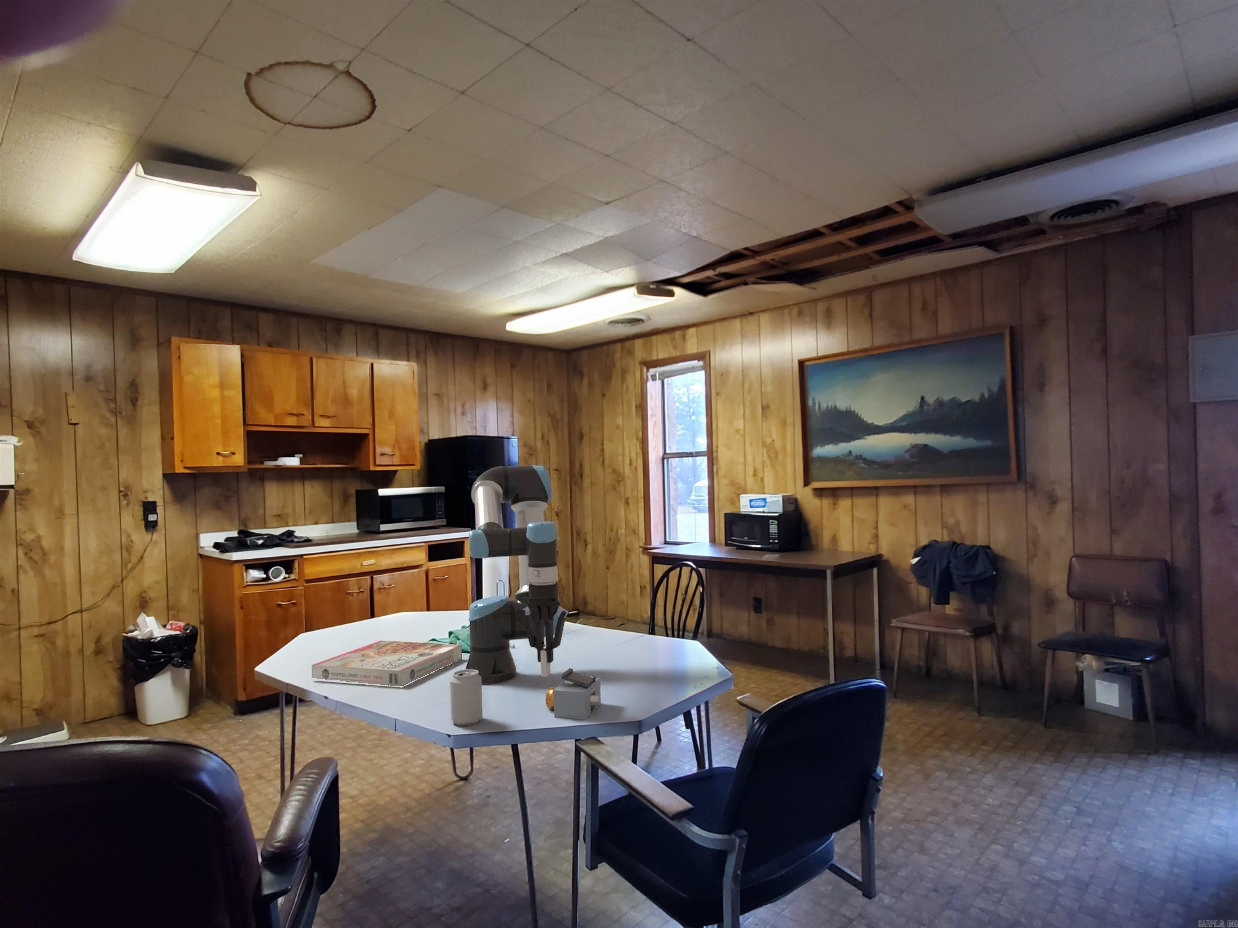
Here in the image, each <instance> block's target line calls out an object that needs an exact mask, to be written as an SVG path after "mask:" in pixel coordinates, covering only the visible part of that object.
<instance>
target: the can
mask: <svg viewBox="0 0 1238 928" xmlns="http://www.w3.org/2000/svg"><path fill="white" fill-rule="evenodd" d="M478 673H479V671H477V670H474V669H466V668H465V669H460V670H455V671H454V672H453V673H452V676H451V678H450V680H449V684H450V685H449V686H450V687H449V688H450V690H449V692H450V720H451V721H452V723H454V725H456V724H457V725H456V726H460V725H467V726H471V724H473V725H475V723H476V724H478V723H479V722H480V720H481V719H483V691H482V685H483V684H482V682H481V676H480V675H479V674H478Z"/></svg>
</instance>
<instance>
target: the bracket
mask: <svg viewBox="0 0 1238 928" xmlns="http://www.w3.org/2000/svg"><path fill="white" fill-rule="evenodd" d="M555 688H556V689H555V690H554V710H553V714H554V715H553V716H554V718H565V719H578V720H586V719H587V718H588V717H589V716H590V715H591V712H592V711H591V710H592V709H597V708H598V707H599V706H600V705H601V704H602V698H601V678H600V677H596V681H595V682H593V683H592V684H590V685H589V686H588V688H584V687H583V686H582V685H579V684H576V683H572V682H569V681H566V680H564V681H563V682H562V683H560V684H559V685H558V686H557V687H555ZM590 695H593V696H599V698H600V702H599V705H598V706H591V705H590Z"/></svg>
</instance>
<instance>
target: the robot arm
mask: <svg viewBox="0 0 1238 928" xmlns="http://www.w3.org/2000/svg"><path fill="white" fill-rule="evenodd" d="M549 474H550V473H549V471H548V469H547V468H546V466H543V465H534V464H531V465H511V466H510V465H507V466H495V467H491V468H489V469H487V470H486V471H484V472H483V473H482V474H481V475H479V476H478V477H477V479H475V481H474V482H473V485H472V487H471V490H470V491H471V492H470V494H471V496H470V497H471V500H472V502H473V504H474V509H475V529H472V530H470V531H469V532H468V547H469V549H468V551H469V552H468V553H469V556H470V558H473V559H487V558H491V559H492V558H500V557H501V558H506V557H518V576H519V579H518V580H519V589H518V590H517V591H516V593H515V594H514V597H515V598H514V600H510V598H509V597H508V595H495V596H488V597H483V598H481V599H478V600H475V601H474V602H472V603H471V604H470V606H469V608H468V609H469V610H468V611H469V612H468V615H469V616H468V621H469V655H468V658H467V659H468V660H467V662H466V665H465V669H474V670H477V671H479V673H478V674H479V675H480V676H481V682H482V685H490V684H492V685H493V684H498V683H499V684H500V683H503V682H507V681H508V682H509V681H510V680H513V679H514V678H516V676H517V665H516V662H515V660H514V657H513V655H512V651H511V649H510V648H511V647H510V645H511V644H510V642H511V641H517V640H528V644H529V647H530V648H534V649H536V651H537V654H536V655H537V658H536V659H537V662H538V663H540V676H541V677H548V676H549V675H551V674H552V673H551V672H552V671H551V669H552V668H551V667H552V666H551V664H552V662H554V649H556V648H558V647H559V646H561V643H562V638H563V631H564V628H565V624H566V623H565V622H566V618H567V617H568V615H569V613H570V610H569V609H565V608H563V606H561V603H560V599H559V584H558V580H559V573H558V572H559V571H558V570H559V569H558V546H557V545H558V544H557V543H558V542H557V541H558V539H557V537H558V533H557V525H556V523H555V522H553V521H545V517H544V515H545V514H544V511H545V510H546V509H547V508H548V506H549V504H548V502H551V501H552V499H553V493H552V492H553V491H552V482H551V479H550V478H551V477H550V475H549ZM505 503H507V504H509V503H510V509H511V510H512V511H513V512H515V514H516V515H515V517H516V527H509V528H508V527H506V528H504V522H503V521H504V520H503V512H502V504H505Z"/></svg>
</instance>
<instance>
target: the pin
mask: <svg viewBox="0 0 1238 928" xmlns="http://www.w3.org/2000/svg"><path fill="white" fill-rule="evenodd" d="M556 688H557V687H549V688H548V689H547V691H546V695H545V704H546V707H547V709H554V690H555V689H556ZM599 702H600V698H599V696H593V695H590V705H591V706H598V705H599ZM599 706H600V705H599ZM599 706H598V707H599Z"/></svg>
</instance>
